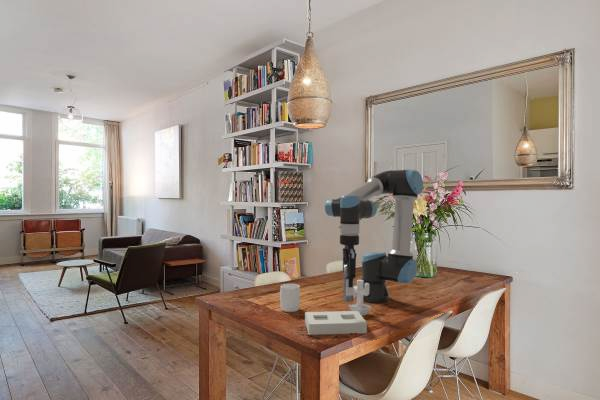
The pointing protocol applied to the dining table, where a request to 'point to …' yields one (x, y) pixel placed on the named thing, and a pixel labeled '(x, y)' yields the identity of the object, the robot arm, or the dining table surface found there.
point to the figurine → (360, 298)
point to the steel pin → (345, 297)
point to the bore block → (335, 322)
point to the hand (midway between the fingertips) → (348, 293)
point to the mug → (289, 297)
